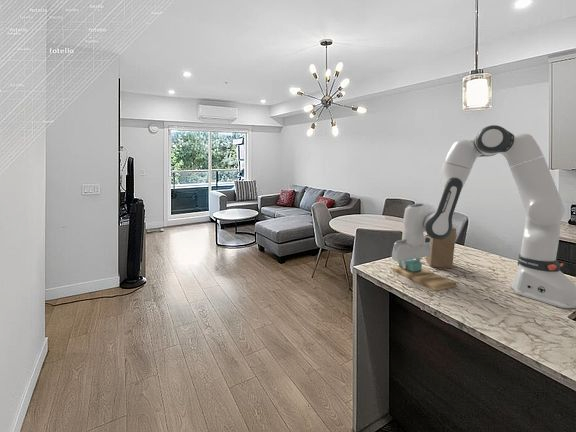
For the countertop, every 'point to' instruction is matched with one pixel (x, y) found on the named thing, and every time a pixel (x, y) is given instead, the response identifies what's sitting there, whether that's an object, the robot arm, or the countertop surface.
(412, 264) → the block
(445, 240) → the wooden block
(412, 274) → the oak board
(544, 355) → the countertop surface
